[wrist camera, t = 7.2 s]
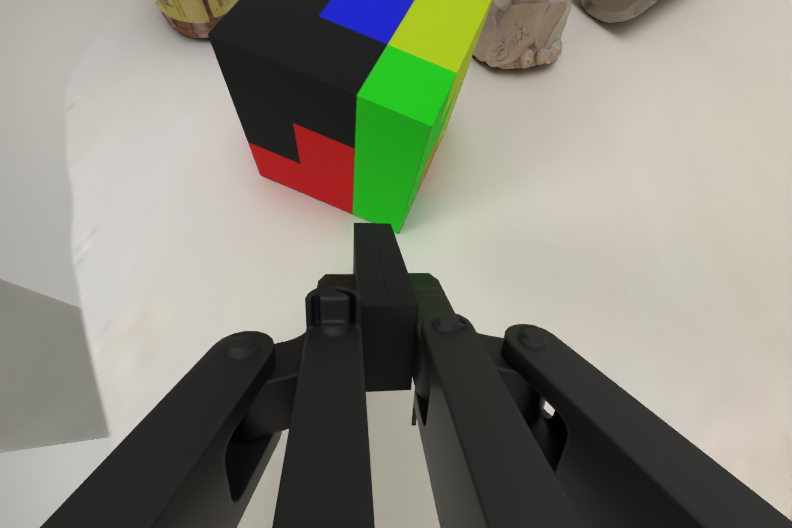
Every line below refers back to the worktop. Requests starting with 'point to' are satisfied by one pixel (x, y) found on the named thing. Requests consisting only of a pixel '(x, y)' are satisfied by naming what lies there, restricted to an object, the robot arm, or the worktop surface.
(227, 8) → the sauce bottle
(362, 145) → the puzzle toy
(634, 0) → the decorative bottle
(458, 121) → the worktop surface
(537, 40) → the figurine
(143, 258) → the worktop surface
